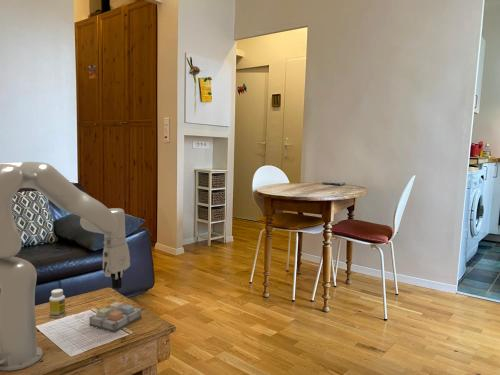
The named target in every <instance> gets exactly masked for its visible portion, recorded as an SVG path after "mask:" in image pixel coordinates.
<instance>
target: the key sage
mask: <svg viewBox="0 0 500 375" xmlns="http://www.w3.org/2000/svg"><path fill="white" fill-rule="evenodd" d="M108 308H109V307H108ZM108 308H107V307H102V308H100V309H98V310H97V311H96V312H97V313H96V314H97V317H100V318H106V317H108V316H109V313H111V309H108Z"/></svg>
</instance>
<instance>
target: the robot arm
mask: <svg viewBox="0 0 500 375" xmlns="http://www.w3.org/2000/svg"><path fill="white" fill-rule="evenodd" d="M25 188H26V189H34V190H35V191H37V192H38V193H40V194H41V195H43V196H44V197H45V198H46V199H47V200H48V201H50V202H51V203H53V205H55V206H56V207H57V208H59V209H60V210H63V211H65V212H67V213H70V214H72V215H75V216H78V217H80V220H79V224H80V227H81V228H82V229H83V230H85V231H88V232H91V233H97V234H102V235H104V238H103V239H104V241H103V245H104V246H103V251H102V271H103V272H104V277H106V278H110V279H111V286H112V289H116V290H119V289H122V287H123V286H122V283H123V282H122V278H123V275H124V272H125V271H126V270H127V269H129V267H130V266H131V256H130V255H131V254H130V249H129V245H128V243H127V242H126V239H127V238H126V237H127V236H126V214H125V210H124V209H123V208H120V207H118V208H117V207H116V208H114V207H113V208H112V207H111V208H108V207H107V206H106V205H104V203H102V202H100V201H99V200H97V199H96V198H94V197H92V196H91V195H89V194H88V193H87V192H84V191H82V190H80V189H79V188H78V187H76V185H74V184H73V183H72V182H71V181H70V180H69V179H67V177H65V176H64V175H63V174H62V173H61V172H60V171H59V170H57V169H56V168H55V166H52V165H51V164H49V163H46V162H39V161H37V162H36V161H23V162H21V161H20V162H19V161H17V162H0V371H5V372H6V371H7V372H8V371H9V372H10V371H12V372H13V371H19V370H22V369H25V368H27V367H30V366H32V365H35V363H37V362H39V361H40V359H42V357H43V354H44V353H43V349H42V348H41V347H39V346H38V344H37V327H36V326H37V324H36V306H35V304H36V303H35V298H36V296H35V294H36V292H35V291H36V285H37V276H38V274H37V273H38V272H37V270H36V267H35V266H34V265H33V264H32V263H31V262H30V261H28V260H26V259H23V258H20V257H17V256H16V255H18V253H20V251H21V249H22V238H21V235H20V232H19V230H18V226H17V223H16V220H15V217H14V215H13V210H12V201H13V199H14V197H15V196H16V194H17V192H18V191H19V190H20V189H25Z"/></svg>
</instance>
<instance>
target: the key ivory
mask: <svg viewBox="0 0 500 375" xmlns="http://www.w3.org/2000/svg"><path fill="white" fill-rule="evenodd" d="M123 305H124V303H122V302H119V301H118V302H117V301H115V302H113V303H111V304H109V308H110V309H111V311H115V310H116V311H120V310H121V307H123Z"/></svg>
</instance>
